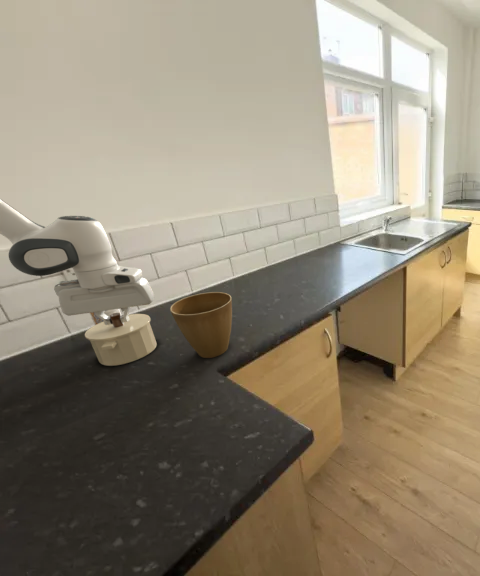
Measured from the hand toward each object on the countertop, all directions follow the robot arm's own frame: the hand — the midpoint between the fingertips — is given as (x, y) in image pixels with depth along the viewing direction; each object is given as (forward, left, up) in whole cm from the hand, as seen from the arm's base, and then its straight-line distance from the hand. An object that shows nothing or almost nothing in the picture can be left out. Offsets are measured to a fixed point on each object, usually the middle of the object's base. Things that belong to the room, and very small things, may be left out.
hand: (117, 322), depth 90 cm
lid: (0, 0, -2) cm, 2 cm away
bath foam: (-8, +13, -10) cm, 18 cm away
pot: (0, 0, -10) cm, 10 cm away
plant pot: (+24, -9, -10) cm, 28 cm away
